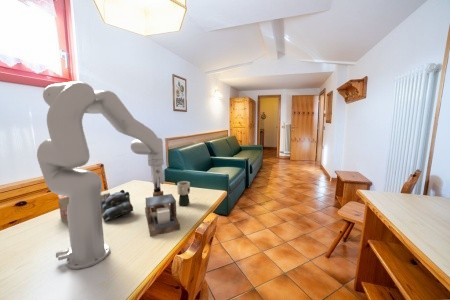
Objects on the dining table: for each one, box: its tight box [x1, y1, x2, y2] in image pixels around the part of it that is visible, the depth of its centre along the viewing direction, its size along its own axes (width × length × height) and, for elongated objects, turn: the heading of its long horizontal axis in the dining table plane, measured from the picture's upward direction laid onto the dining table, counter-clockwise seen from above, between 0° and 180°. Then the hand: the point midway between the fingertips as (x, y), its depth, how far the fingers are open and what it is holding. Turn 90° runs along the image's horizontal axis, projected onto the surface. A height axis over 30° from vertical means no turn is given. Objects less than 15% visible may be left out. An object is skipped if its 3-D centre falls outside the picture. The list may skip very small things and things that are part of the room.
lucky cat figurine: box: [101, 189, 134, 222], centre depth 101 cm, size 15×12×14 cm
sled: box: [152, 190, 176, 230], centre depth 92 cm, size 9×20×9 cm, turn 26°
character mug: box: [176, 180, 191, 206], centre depth 114 cm, size 11×7×13 cm, turn 10°
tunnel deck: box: [144, 193, 181, 238], centre depth 95 cm, size 13×26×11 cm, turn 26°
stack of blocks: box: [57, 190, 111, 223], centre depth 103 cm, size 21×6×12 cm, turn 135°
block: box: [156, 207, 170, 224], centre depth 88 cm, size 5×5×6 cm
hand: (157, 195), depth 103 cm, fingers closed
